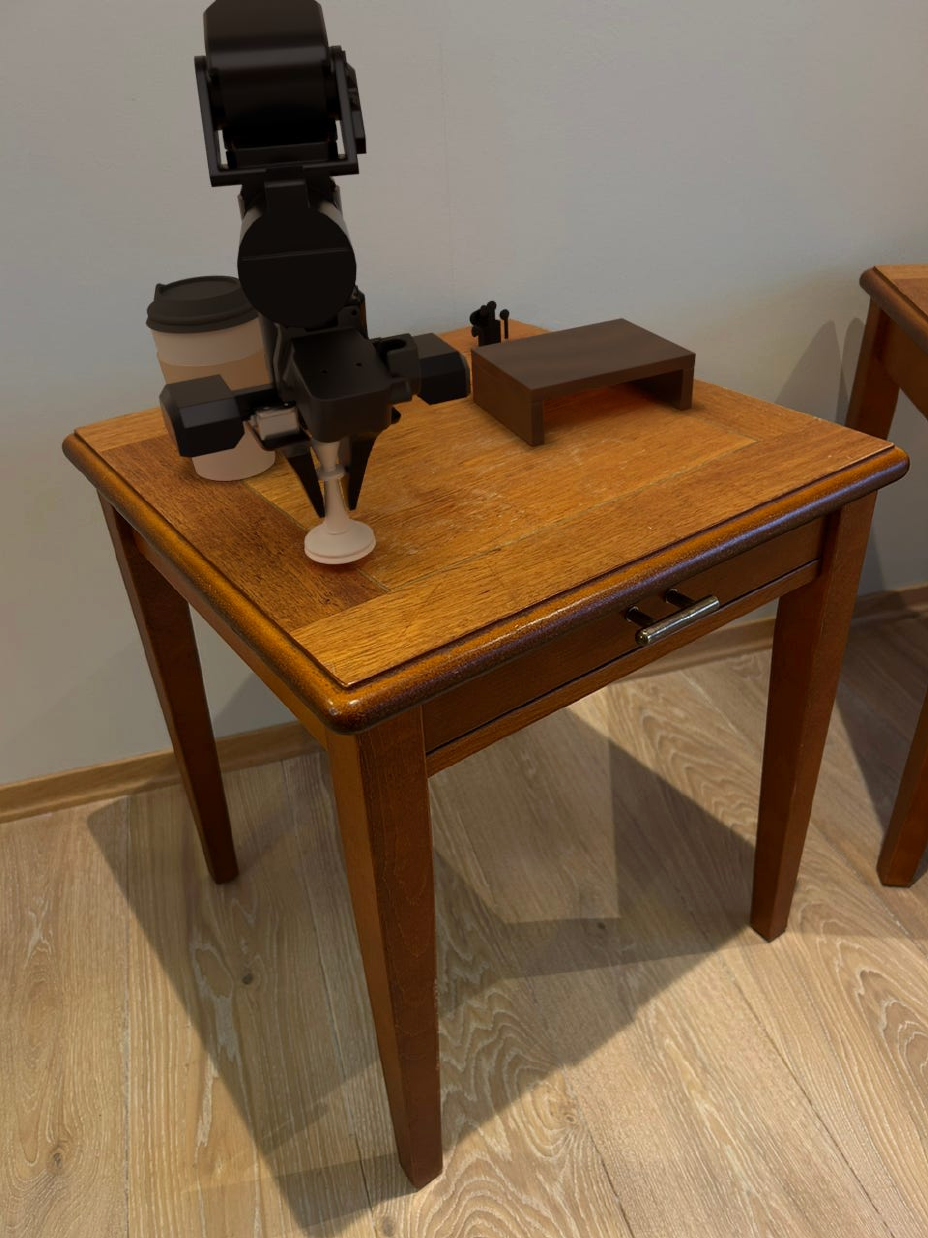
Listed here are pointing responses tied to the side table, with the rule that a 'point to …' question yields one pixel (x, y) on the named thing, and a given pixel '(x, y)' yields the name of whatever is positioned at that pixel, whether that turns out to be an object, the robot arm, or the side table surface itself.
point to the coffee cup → (212, 355)
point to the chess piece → (336, 516)
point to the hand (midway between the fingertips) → (335, 512)
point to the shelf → (576, 371)
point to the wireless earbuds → (488, 324)
